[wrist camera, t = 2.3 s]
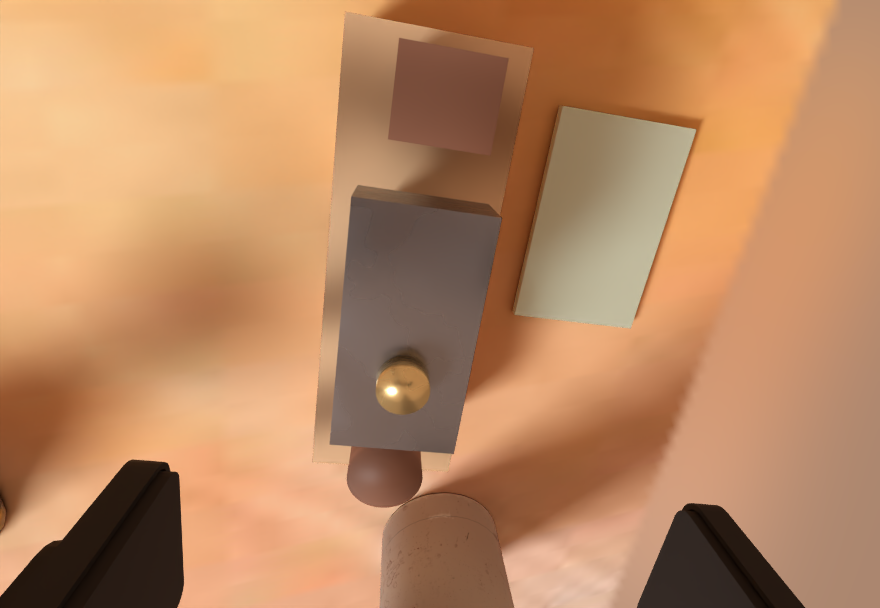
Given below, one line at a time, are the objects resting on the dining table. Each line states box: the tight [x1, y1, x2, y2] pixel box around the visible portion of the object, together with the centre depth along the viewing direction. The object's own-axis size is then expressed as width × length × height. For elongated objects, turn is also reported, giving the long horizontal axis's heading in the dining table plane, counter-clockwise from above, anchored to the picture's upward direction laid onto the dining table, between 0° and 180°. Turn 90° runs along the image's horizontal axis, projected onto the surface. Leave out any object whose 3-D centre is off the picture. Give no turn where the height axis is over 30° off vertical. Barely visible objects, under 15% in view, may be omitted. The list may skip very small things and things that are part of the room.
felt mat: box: [512, 106, 697, 328], centre depth 26 cm, size 11×7×1 cm, turn 171°
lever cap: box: [329, 185, 502, 454], centre depth 17 cm, size 9×5×3 cm, turn 171°
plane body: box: [312, 12, 534, 507], centre depth 20 cm, size 20×7×11 cm, turn 171°
